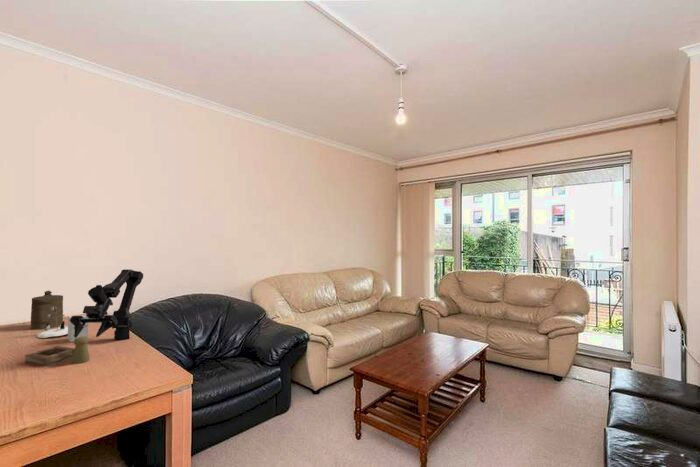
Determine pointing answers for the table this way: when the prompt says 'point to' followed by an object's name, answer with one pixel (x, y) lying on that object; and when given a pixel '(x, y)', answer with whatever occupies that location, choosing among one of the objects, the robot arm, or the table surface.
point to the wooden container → (46, 310)
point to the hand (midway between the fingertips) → (85, 336)
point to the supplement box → (72, 329)
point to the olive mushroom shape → (81, 350)
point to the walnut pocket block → (50, 356)
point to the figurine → (53, 332)
